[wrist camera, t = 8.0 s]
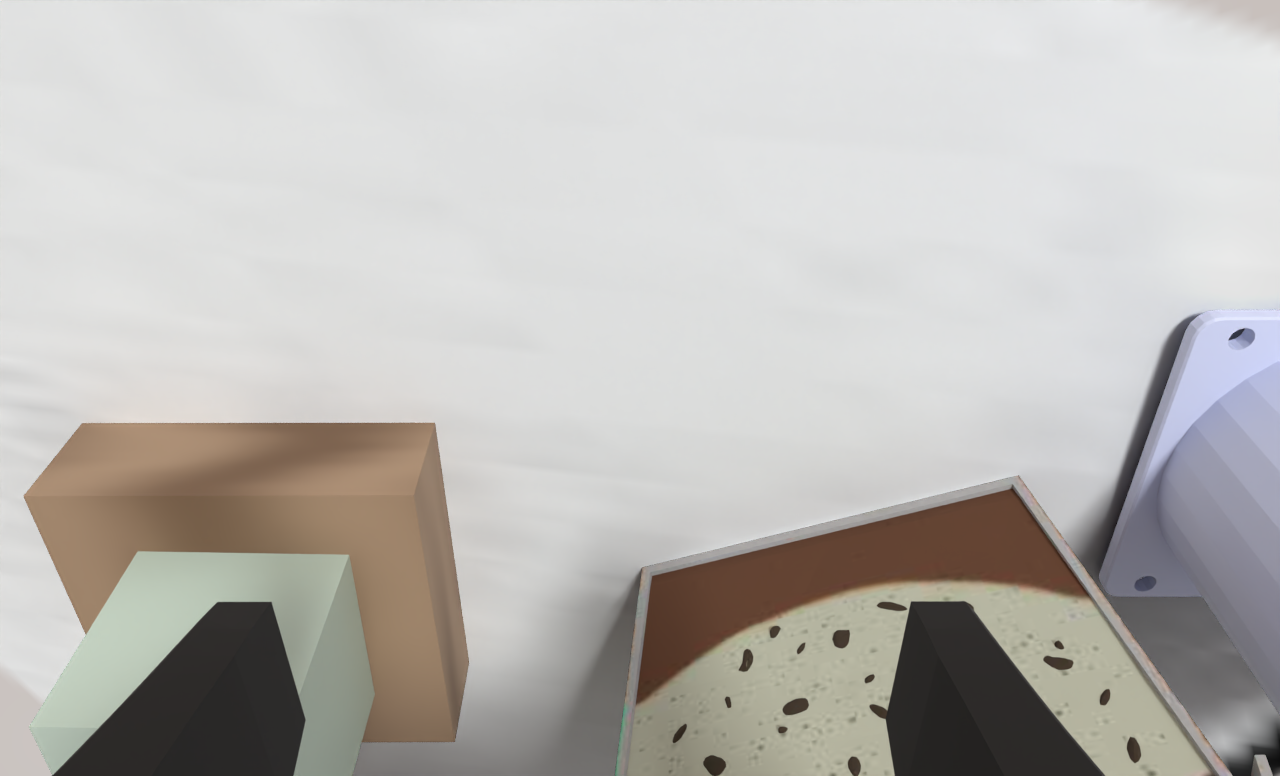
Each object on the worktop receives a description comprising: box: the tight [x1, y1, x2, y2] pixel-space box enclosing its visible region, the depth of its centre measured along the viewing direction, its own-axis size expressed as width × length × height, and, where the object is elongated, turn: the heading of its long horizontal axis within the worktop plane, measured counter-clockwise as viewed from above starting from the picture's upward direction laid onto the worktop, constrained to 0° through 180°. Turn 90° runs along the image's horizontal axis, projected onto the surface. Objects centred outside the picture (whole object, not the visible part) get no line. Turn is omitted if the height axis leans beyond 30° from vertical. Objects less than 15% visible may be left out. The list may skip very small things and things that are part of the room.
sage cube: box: [29, 551, 375, 776], centre depth 20 cm, size 4×4×4 cm
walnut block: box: [24, 423, 469, 742], centre depth 24 cm, size 8×8×3 cm
